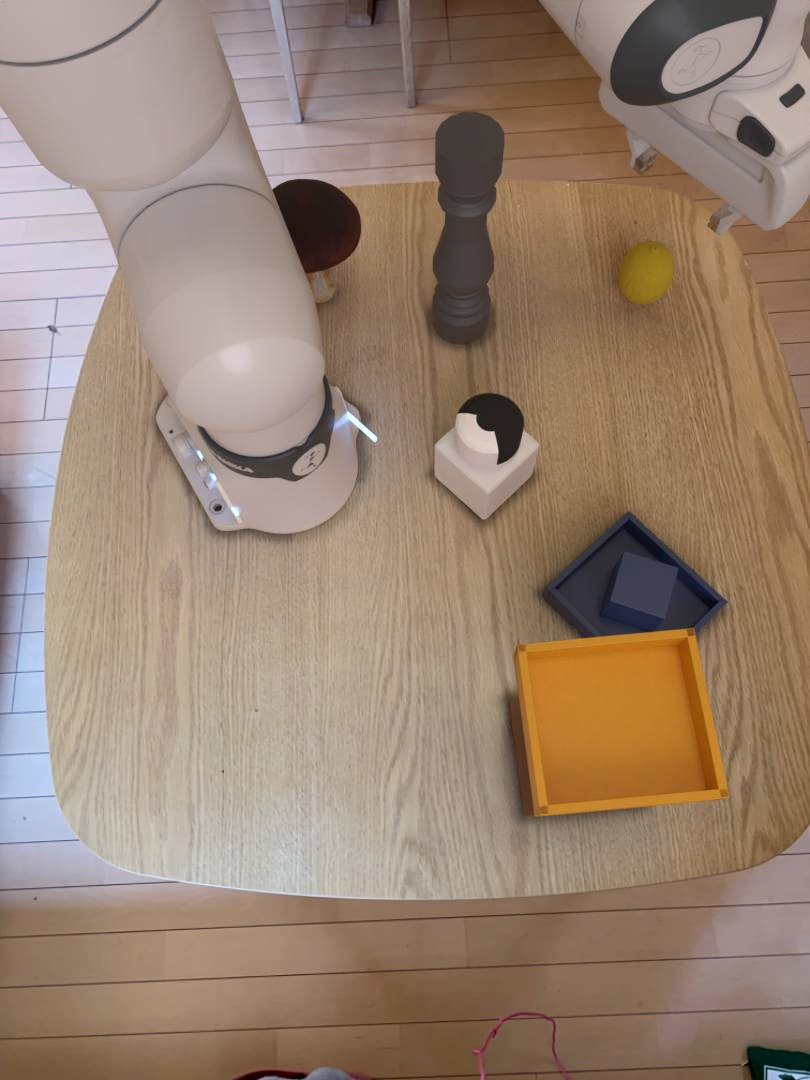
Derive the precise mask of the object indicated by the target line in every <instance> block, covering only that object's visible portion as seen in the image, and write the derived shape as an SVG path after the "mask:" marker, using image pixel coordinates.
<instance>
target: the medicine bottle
mask: <svg viewBox="0 0 810 1080" xmlns="http://www.w3.org/2000/svg"><path fill="white" fill-rule="evenodd" d="M539 450H540V442H539V441H537V440H536V439H535V438H534V437H533V436H531V435H530V434H529V433H528V432H527V431H526V430H525V419H524V415H523V412H522V411H521V408H520V407H519V406H518V404H517V403H516V402H515V401H513V400H512V398H509V397H508V396H505V395H502V394H500V393H495V392H484V393H483V392H482V393H478V394H476V395H474V396H472V397H469V398H467V400H465V401H464V402H463V403H462V404H461V406H460V408H459V409H458V411H457V414H456V417H455V425H454V426H453V427H452V428H450V429H449V431H447V432H446V433H445V434H444V435H443V436H441V438H440V439H438V441H436V442H435V444H434V470H433V471H434V477H435V478H436V479H437V480H438V481H439V482H440V483H441V484H443V485H444V486H445V487H446V488H447V490H449V491H450V492H451V493H452V494H453V495H454V496H456V497H457V498H458V499H459V500H460V501H461V502H462V503H463V504H465V505H466V506H467V507H468V509H470V510H471V511H472V512H474V513H475V514H476V516H478V517H479V518H480V519H481V520H484V521H486V520H487V519H488V518H490V516H491V515H492V514H493V513H494V512H495V511H497V509H499V508H500V507H501V506H502V505H503V504H504V503H505V502H506V501H507V500H508V499H510V497H511V496H512V495H514V493H515V492H516V491H518V490H519V489H520V487H522V486H523V485H524V484H525V483H526V482H527V481H528V480H529V479H530V478H531V477H532V476H533V472H534V469H535V464H536V462H537V457H538V453H539Z"/></svg>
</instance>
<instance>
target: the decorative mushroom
mask: <svg viewBox="0 0 810 1080" xmlns="http://www.w3.org/2000/svg"><path fill="white" fill-rule="evenodd" d="M272 190H273V193H274V196H275V198H276V201H277V203H278V206H279V208H280V211H281V213H282V216H283V218H284V221H285V224H286V226H287V229H288V231H289V234H290V236H291V239H292V241H293V244H294V246H295V249H296V252H297V254H298V257H299V259H300V262H301V264H302V267H303V269H304V272H305V274H306V277H307V280H308V282H309V285H310V287H311V290H312V292H313V295H314V300H315V303H317V304H318V303H319V304H323V303H326V302H328V301H329V300H331V299H332V298H333V297H334V296H335V293H336V291H337V288H338V276H337V275H338V274H337V271H336V266H339V264H342V263H343V262H344V261H346V260H348V258H350V257H351V256H352V254H353V253H354V252H355V251H356V249H357V248H358V246H359V244H360V240H361V235H362V218H361V214H360V212H359V209H358V207H357V205H356V204H355V203H354V202H353V201H352V199H351V198H350V197H349V196H348V195H347V194H346V193H345V192H343V191H342V190H341V189H340V188H338V186H335V185H334V184H332V183H329V182H327V181H323V180H319V179H314V178H294V179H288V180H286V181H283V182H281V183H279V184H278V185H276V186H275V187H273V188H272Z"/></svg>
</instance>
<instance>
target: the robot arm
mask: <svg viewBox="0 0 810 1080" xmlns="http://www.w3.org/2000/svg"><path fill="white" fill-rule="evenodd" d="M535 1H536V2H537V3H538V4H539V5H540V6H541V7H543V9H544V10H545V11H546V12H547V13H548V14H549V16H550V17H551V18H552V19H553V21H554V22H555V23H556V24H557V26H558V27H559V28H560V30H561V31H562V32H563V33H564V35H565V36H566V37H567V39H568V40H569V41H570V42H571V43H572V45H573V46H574V48H576V50H577V51H578V52H579V54H580V55H581V56H582V57H583V58H584V59H585V60H586V62H587V63H588V65H589V66H590V68H592V69H593V71H594V72H595V73H596V74H597V76H598V77H599V78H600V79H601V80H600V83H599V88H598V93H597V96H598V100H599V103H600V107H601V109H602V110H603V111H604V112H605V113H606V114H608V115H610V116H611V117H612V118H614V119H615V120H616V121H618V122H619V123H620V124H621V125H623V126H624V127H625V128H626V131H625V135H626V140H627V143H628V146H629V150H630V153H631V157H630V161H629V163H628V166H629V168H630V169H632V170H634V171H635V172H636V173H637V174H638V175H640V176H643V175H644V174H645V173H646V172H649V171H650V170H651V169H652V167H653V166H654V164H655V162H656V161H655V159H656V158H657V155H658V152H659V153H660V154H662V155H663V156H664V157H665V158H667V159H668V160H669V161H671V162H672V163H673V164H675V165H676V166H677V167H679V168H680V169H681V170H683V171H684V172H685V173H687V174H688V175H689V176H691V177H692V178H693V179H694V180H696V181H697V182H699V183H700V184H701V185H703V187H705V188H706V189H708V190H709V191H711V192H712V193H713V194H715V195H716V196H717V197H719V198H720V199H721V200H722V201H724V202H725V203H724V204H723V205H721V207H719V209H718V210H717V209H716V211H714V212H713V213H712V214H711V216H710V218H709V222H708V223H707V228H709V229H710V230H711V231H712V232H713V233H715V234H716V235H718V236H719V237H721V236H722V235H723V234H725V233H726V232H727V231H728V230H730V228H731V227H732V226H733V224H734V222H735V221H738V220H740V219H741V218H742V217H743V216H744V217H745V218H746V219H748V220H749V221H751V223H753V224H754V225H755V226H757V227H758V228H760V229H761V230H763V231H765V232H769V231H770V232H771V231H774V230H778V229H780V228H781V227H782V226H784V225H785V224H787V223H788V222H789V221H791V219H793V218H794V216H796V214H798V213H799V212H800V210H802V208H803V206H804V205H805V203H806V202H807V201H808V198H809V197H810V58H809V57H808V55H807V53H806V51H805V50H804V47H803V46H802V45H801V43H802V39H803V37H804V32H805V31H804V30H805V21H806V19H807V16H808V14H809V13H810V0H535ZM236 89H237V88H236V85H235V80H234V77H233V75H232V72H231V69H230V67H229V64H228V60H227V58H226V55H225V52H224V50H223V46H222V44H221V42H220V39H219V36H218V33H217V31H216V28H215V25H214V22H213V19H212V16H211V14H210V11H209V9H208V5H207V3H206V1H205V0H0V108H1V110H2V111H3V113H4V114H5V115H6V116H7V117H6V118H8V120H9V121H10V122H11V124H12V125H13V127H14V128H15V129H16V131H17V133H18V134H19V136H21V138H22V140H23V141H24V143H25V144H26V146H27V147H28V148H29V150H30V151H31V153H32V154H33V155H34V157H35V158H36V160H37V161H38V162H39V163H40V165H41V166H42V167H43V168H44V169H46V171H48V172H49V173H50V174H52V176H54V177H56V178H57V179H60V180H61V181H63V182H64V183H67V184H69V185H72V186H74V187H76V188H79V189H83V190H84V191H85V192H86V193H87V195H88V196H89V198H90V200H91V201H92V203H93V205H94V208H95V209H96V211H97V213H98V215H99V217H100V220H101V221H102V224H103V227H104V229H105V231H106V234H107V236H108V240H109V242H110V244H111V248H112V250H113V253H114V256H115V258H116V262H117V266H118V268H119V271H120V273H121V277H122V280H123V284H124V286H125V287H124V288H125V289H126V293H127V297H128V300H129V304H130V307H131V310H132V313H133V317H134V319H135V323H136V326H137V330H138V333H139V336H140V340H141V343H142V346H143V349H144V351H145V354H146V355H147V357H148V359H149V361H150V363H151V365H152V367H153V369H154V370H155V372H156V374H157V376H158V378H159V380H160V382H161V383H162V386H163V387H164V389H165V390H166V392H167V394H166V396H165V397H164V398H163V400H162V402H161V403H160V405H159V408H158V410H157V412H156V414H155V421H156V425H157V426H158V428H159V431H160V432H161V435H162V436H163V438H164V439H165V441H166V443H167V445H168V447H169V449H170V450H171V452H172V454H173V456H174V457H175V459H176V462H177V463H178V465H179V466H180V468H181V471H182V472H183V474H184V476H185V477H186V479H187V481H188V483H189V485H190V486H191V488H192V490H193V492H194V494H195V495H196V497H197V500H199V502H200V504H201V506H202V508H203V510H204V511H205V513H206V515H207V517H208V519H209V520H210V522H211V524H212V525H213V527H214V528H215V529H216V530H218V531H221V532H232V531H233V532H234V531H240V530H244V529H245V530H246V529H247V530H249V529H250V530H256V531H260V532H264V533H268V534H277V535H278V534H280V535H287V534H288V535H290V534H297V533H301V532H304V531H309V530H311V529H314V528H316V527H318V526H320V525H322V524H324V523H325V522H327V521H329V520H330V519H331V518H332V517H334V516H335V515H336V514H337V513H338V512H339V511H340V510H341V509H342V508H343V507H344V506H345V504H346V503H347V501H348V500H349V498H350V497H351V495H352V492H353V491H354V488H355V486H356V483H357V478H358V474H359V456H358V450H357V438H358V435H359V432H360V430H361V431H362V432H363V433H364V434H365V435H366V436H367V437H369V438H370V440H372V441H373V442H374V443H376V442H377V441H378V438H377V436H376V435H375V434H374V433H372V431H370V430H369V429H368V428H367V427H366V426H365V425H364V424H363V423H362V415H361V413H360V410H359V409H358V408H357V407H356V406H355V405H353V404H351V403H349V402H348V401H347V400H345V399H344V396H343V393H342V391H341V389H340V388H339V387H338V386H333V385H332V384H331V383H330V382H329V380H328V378H327V376H326V374H325V373H326V361H325V354H324V347H323V346H324V345H323V340H322V332H321V325H320V321H319V315H318V311H317V306H316V302H315V300H314V295H313V292H312V290H311V287H310V285H309V282H308V280H307V277H306V274H305V272H304V269H303V267H302V264H301V262H300V259H299V257H298V254H297V252H296V249H295V246H294V244H293V241H292V239H291V236H290V234H289V231H288V229H287V226H286V224H285V221H284V218H283V216H282V213H281V211H280V208H279V206H278V203H277V201H276V198H275V196H274V193H273V190H272V189H273V188H272V185H271V183H270V180H269V178H268V175H267V173H266V170H265V167H264V165H263V163H262V160H261V157H260V154H259V152H258V149H257V147H256V144H255V141H254V139H253V135H252V133H251V131H250V127H249V125H248V121H247V119H246V116H245V113H244V110H243V107H242V104H241V102H240V99H239V95H238V92H237V90H236ZM218 507H221V509H219V510H216V508H218Z"/></svg>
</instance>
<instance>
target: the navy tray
mask: <svg viewBox="0 0 810 1080" xmlns="http://www.w3.org/2000/svg"><path fill="white" fill-rule="evenodd" d="M624 551H626V552H629V553H633V554H636V555H639V556H642V557H645V558H648V559H652V560H655V561H658V562H661V563H664V564H667V565H671V566H674V567H677V568H678V572H677V576H676V580H675V584H674V588H673V592H672V595H671V599H670V603H669V607H668V611H667V614H666V618H665V620H664V621H663V622H662V623H661V624H660V625H659V626H658V627H657V628H656V629H655V630H654V631H653V632H656V631H667V630H677V629H688V628H694V630H695V635H696V634H698V632H699V631H701V629H703V628H704V626H706V625H707V624H708V623H709V622H710V621H711V620H712V619H713V618H714V617H715V616H716V615H717V614H718V613H719V612H720V611H721V610H722V609H723V608H724V607H725V606H726V605H727V604H728V602H729V601H728V600H727V599H726V598H724V597H723V595H721V594H720V593H719V592H718V591H717V590H716V589H715V588H713V587H712V585H710V584H709V583H708V582H707V581H706V580H705V579H704V578H702V576H700V575H699V574H698V573H697V572H696V571H695V570H694V569H693V568H692V567H691V566H689V564H687V562H685V561H684V560H683V559H682V558H681V557H680V556H679V555H678V554H676V552H674V551H673V550H672V549H671V548H670V547H669V546H668V545H667V544H666V543H665V542H664V541H662V540H661V539H660V538H659V536H657V535H656V534H654V532H653V531H652V530H650V529H649V528H648V527H647V526H646V525H645V524H644V523H643V522H642V521H640V519H639V518H637V517H636V515H634V514H633V513H632V512H631V511H630V510H628V511H627V512H626V513H625V514H624V515H622V516H621V517H620V518H619V519H618V520H617V521H616V522H615V523H614V524H613V525H612V526H611V527H609V528H608V529H607V530H606V531H605V532H604V533H603V534H602V535H601V536H599V537H598V538H597V539H596V540H595V541H594V542H593V543H592V544H591V545H590V546H589V547H588V548H586V550H584V551H583V552H582V553H581V554H580V555H579V556H578V557H577V558H576V559H574V560H573V561H572V562H571V563H570V564H568V565H567V567H566V568H564V569H563V570H562V571H561V572H560V573H559V574H558V575H557V576H555V578H553V579H552V580H551V581H550V582H549V583H548V584H547V585H546V586H545V588H544V590H543V592H542V594H541V597H542V598H543V599H544V600H545V601H546V602H547V603H548V604H549V605H550V606H551V607H552V608H553V609H554V610H555V611H556V612H557V613H558V614H559V615H560V616H561V617H562V618H563V619H564V620H565V621H566V622H567V623H568V624H569V625H570V626H571V627H572V628H573V629H574V630H575V631H576V632H578V634H579V635H580V636H581V637H582V638H591V637H602V636H613V635H623V634H634V633H645V632H648V631H645V630H642V629H639V628H636V627H633V626H630V625H627V624H624V623H621V622H618V621H615V620H612V619H609V618H606V617H603V616H600V612H601V609H602V605H603V602H604V598H605V595H606V591H607V588H608V584H609V581H610V577H611V574H612V571H613V568H614V566H615V565H616V563H617V561H618V560H619V558H620V557H621V555H622V554H623V552H624Z"/></svg>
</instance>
